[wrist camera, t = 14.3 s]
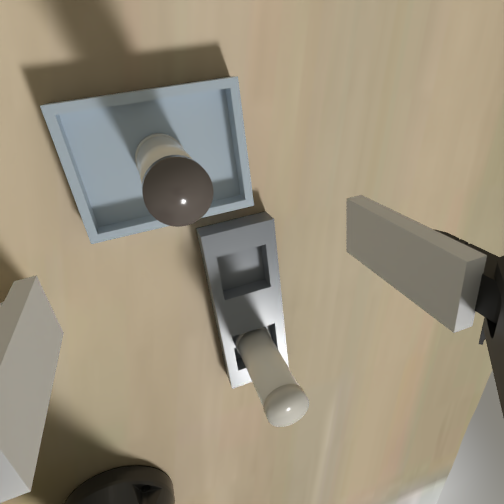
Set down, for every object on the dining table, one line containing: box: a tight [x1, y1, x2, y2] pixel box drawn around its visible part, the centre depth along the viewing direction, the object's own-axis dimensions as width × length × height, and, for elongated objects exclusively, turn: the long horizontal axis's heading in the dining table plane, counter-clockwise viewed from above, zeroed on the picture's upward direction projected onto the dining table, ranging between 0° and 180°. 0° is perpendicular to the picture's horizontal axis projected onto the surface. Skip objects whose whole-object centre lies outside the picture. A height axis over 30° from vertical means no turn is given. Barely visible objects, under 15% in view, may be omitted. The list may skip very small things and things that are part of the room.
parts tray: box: [40, 77, 254, 244], centre depth 33 cm, size 16×12×2 cm
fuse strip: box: [196, 212, 289, 389], centre depth 44 cm, size 8×22×2 cm, turn 6°
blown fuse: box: [135, 133, 214, 227], centre depth 29 cm, size 5×5×12 cm
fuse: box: [234, 327, 309, 427], centre depth 42 cm, size 5×5×12 cm
